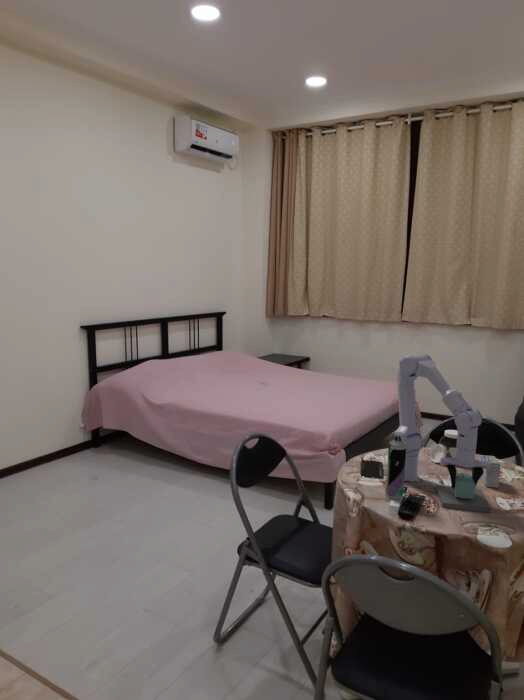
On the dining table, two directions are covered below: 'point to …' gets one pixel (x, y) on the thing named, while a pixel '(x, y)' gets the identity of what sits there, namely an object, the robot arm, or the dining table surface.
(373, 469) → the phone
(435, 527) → the dining table surface
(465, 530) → the dining table surface
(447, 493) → the key board
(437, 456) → the spread jar
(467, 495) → the keyed cap
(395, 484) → the spray can
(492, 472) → the medicine box
